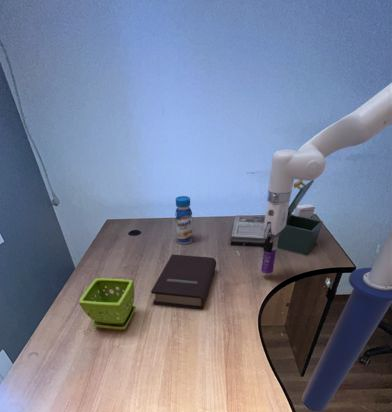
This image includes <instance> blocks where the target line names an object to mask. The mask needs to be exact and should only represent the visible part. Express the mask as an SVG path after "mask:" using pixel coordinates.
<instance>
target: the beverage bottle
mask: <svg viewBox="0 0 392 412" xmlns="http://www.w3.org/2000/svg"><path fill="white" fill-rule="evenodd" d="M175 206H176V209H175V212H174V216H175V219H174V220H175V225H176V227H175V228H176V241H177V242H178V243H179V244H182V245H187V244H191V243H193V241H194V232H193V220H194V218H193V216H192V215H193V211H192V209H191V207H190V206H191V198H190V197H189V196H187V195H179V196H177V197H176V198H175Z"/></svg>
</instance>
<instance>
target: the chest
mask: <svg viewBox="0 0 392 412" xmlns="http://www.w3.org/2000/svg"><path fill="white" fill-rule="evenodd" d="M322 226H323V220H319V219H314V218H312V219H309V218H304V217H299V216H294V214H291V215H290V216H288V217H287V222H286V226H285V228H284V229H283V230H281V232H280V237H279V243H278V246H277V249H282V250H285V251H289V252H293V253H296V254H301V255H305V256H307V254H309V252H310V251H311V250H312V249H313V248H314V247H315V246H316V244H317V241H318V238H319V234H320V232H321V229H322Z"/></svg>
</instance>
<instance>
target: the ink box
mask: <svg viewBox="0 0 392 412" xmlns="http://www.w3.org/2000/svg"><path fill="white" fill-rule="evenodd" d="M315 209H316V206H314V205H313V204H311V203H308V204H307V203H306V204H298V205H297V207H296V208H295V210H294V211H293V215H294V216H299V217H304V218H309V219H313V217H314V212H315Z"/></svg>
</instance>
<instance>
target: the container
mask: <svg viewBox="0 0 392 412" xmlns="http://www.w3.org/2000/svg"><path fill="white" fill-rule="evenodd" d="M270 233H272V232H271V231H270ZM269 236H270V238H271V235H269ZM278 239H279V234H277V235H274V237H273V241H272V242H273V247H272V252H271V253H269V252H265V251H263V256H262V263H261V270H260V272H261V273H262V274H264V275H272V274H273V272H274V267H275V261H276V256H277V250H278V248H277V245H278Z"/></svg>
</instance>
